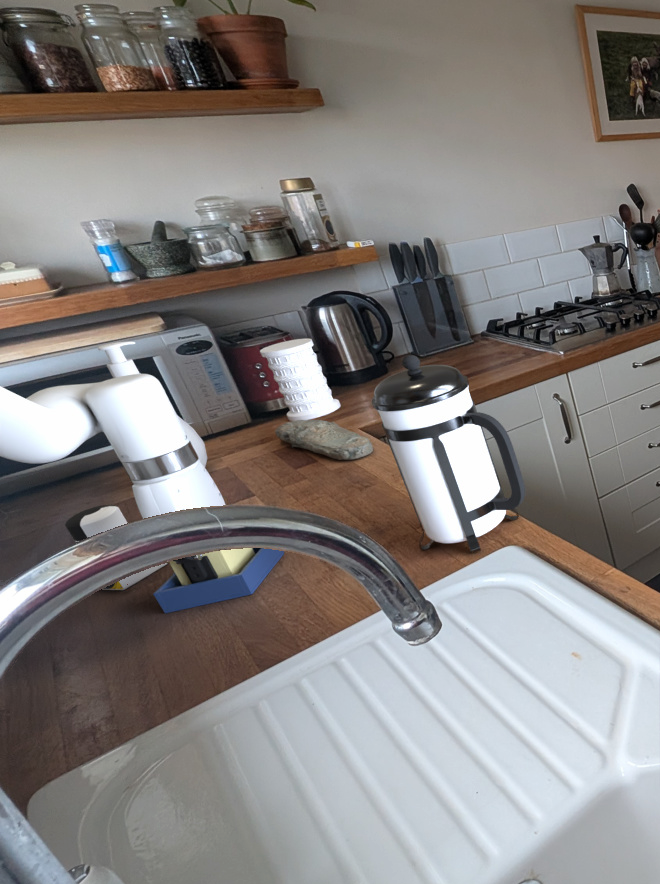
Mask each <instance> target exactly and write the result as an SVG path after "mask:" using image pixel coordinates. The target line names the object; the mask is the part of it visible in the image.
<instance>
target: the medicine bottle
mask: <svg viewBox="0 0 660 884" xmlns="http://www.w3.org/2000/svg"><path fill="white" fill-rule="evenodd" d="M127 523H128V521H127V519H126V518H125V516H124V514H123V513H122V511H121V509H120V507H119V506H117V505H114V504H103V505H97V506H93V507H91V508H90V507H89V508H87V509H84V510H82V511H79V512H78V513H75V514H74V515H72V516H71V517H70V518H69V519H68V520H66V522H65V524H64V526H65V528H66V529H67V531H68V533H69V534H70V535H71V537H72V538H73V540H74V542H75V543H76V542H79V541H81V540H83V539H86V538H88V537H91V536H93V535H96V534H98V533H101V532H105V531H107V530H110V529H113V528H115V527H118V526H121V525H124V524H127ZM166 565H168V563H165V564H161V565H159V566H155V567H151V568H149V569H146V570H144V571H141V572H139V573H136V574H133V575H131V576H129V577H126V578H125V579H122V580H120V581H118V582H116V583H114V584H112V585H110V586H107V587H106V588H104V589H102V590H103V591H125V590H126V589H128V588H130V587H133V585H135V584H137V583H139V582H140V581H142V580H143V579H145V578H147V577H149V576H150V575H152V574H153V573H155V572H156V571H159V570H160V569H161V568H163V567H165V566H166ZM127 584H128V585H127ZM120 587H122V588H120ZM102 590H101V591H102Z"/></svg>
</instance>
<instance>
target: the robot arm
mask: <svg viewBox="0 0 660 884" xmlns="http://www.w3.org/2000/svg"><path fill="white" fill-rule="evenodd" d="M164 390H165V389H164V387H163V385H162V383H161V382H160V380H159V379H158V378H156V377H155V376H154V375H153V374H152V375H151V374H149V373H141V374H132V375H126V376H121V377H117V378H113V377H112V378H108V379H106V380H102V381H99V382H90V383H89V382H88V383H80V384H65V385H57V386H51V387H46V388H43V389H40V390H38V391H36V392H34V393H32V394H31V395H29V396H28V397H26V398H25V397H23V396H21V395H19V394H16V393H15V392H13V391H11V390H8V389H7V388H5V387H3V386H1V385H0V458H4V459H7V460H10V461H15V462H18V463H25V464H31V465H33V464H34V465H35V464H46V463H53V462H56V461H59V460H62V459H63V458H66V457H68V456H69V455H70V454H71V453H73V452H74V451H76V450H77V449H78V448H79V447H80V446H81V445H82V444H83V443H85V442H86V441H87V440H89V439H91V438H93V437H94V436H96V435H97V434H99V433H104V436H106V438H107V440H108V442H109V444H110V445H111V447H112V449H113V452H115V454H116V457H117V458H118V460H119V461H120V463H121V465H122V467H123V468H124V470H125V472H126V474H127V476H128V477H129V479H130V480H131V482H132V484H133V485H132V486H131V489H132V494H133V497H134V500H135V503H136V506H137V508H138V511H139V513H140V516H141V518H142V520H143V519H144V518H148V517H152V516H156V515H161V514H165V513H169V512H175V511H180V510H186V509H193V508H201V507H210V506H223V505H228V506H229V499H228V497H227V496H225V495H222V493H221V492H220V489H219V487H218V486H217V484H216V483H215V481H214V479H213V478H212V476H211V474H210V473H209V471H208V470H207V468H206V466H205V467H204V466H203V465H202V463H201V462H200V459H199V457H198V455H197V453H196V451H195V449H194V447H193V445H192V444H191V442H190V440H189V438H188V436H187V434H186V432H185V430H184V428H183V426H182V424H181V422H180V420H179V418H178V416H179V415H178V414H177V412H176V410H175V408H174V406H173V404H172V402H171V400H170V399H169V397H168V395H167V393H166V390H165V391H164ZM177 415H178V416H177ZM173 561H175V562H176V563H177V564H181V566H182V568H183V569H184V571H185V573H186V575H187V576H188V578H189V580H190V582H191V583H192V584H194V583H198V582H203V581H208V580H212V579H217V578H218V575H217V573H216V571H215V569H214V568H213V566H212V564H211V562H210V560H209V558H208V557H207V556H203V555H202V554H198V555H195V556H191V557H185V558H182V559H178V560H173Z"/></svg>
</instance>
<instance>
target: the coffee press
mask: <svg viewBox="0 0 660 884" xmlns="http://www.w3.org/2000/svg"><path fill="white" fill-rule="evenodd" d="M420 365H421V359H419V358H418V356H416V355H413V354H408V355H405V356H404V357H403V358H402V364H401V366H403V367H404V370H402V371H399V372H396V373H393V374H391V375H389V376H387V377H386V378H384V379H382V380H381V381H380V382H379V383H377V385H376V387H375V388H374V391H373V398H372V399H371V401H370V403H371V405H372V408H373V409H374V410H375V411H377V412H378V414H379V416H380V419H381V422H382V423H381V427H382V430H383V432H384V435H385V437H386V440H387V442H388V445H389V448H390V451H391V453H392V456H393V458H394V461H395V463H396V467H397V468H398V471H399V474H400V477H401V479H402V482H403V484H404V487H405V489H406V492H407V494H408V496H409V500H410V502H411V504H412V508H413V510H414V513H415V515H416V517H417V520H418V523H419V526H420V528H421V531H422V533H421V535H420V538H419V540H418V547H419V549H420V550H422V551H427V550H429V549H430V548H431V547H432V545H433V544H434V543H435V542H436V543H440V544H457V543H462V542H467V544H468V548H469V551H470V553H471V555H473V554H476V553H479V552H481V551H482V549H481V546H480V543H479V541H478V538H479V537H481V536H483V535H485V534H487V533H489V532H490V531H492V530H493V529H495V528H496V527H497V526H498V525H499V524H500V523H501V522H502V521H503V520H504V519H507V520H510V521H516V520H518V519H519V517H520V514H519V512H518V509H516V508H517V507H519V506H520V505H521V504H522V503H523V502H524V500H525V497H526V487H525V481H524V478H523V475H522V471H521V468H520V464H519V461H518V459H517V455H516V451H515V449H514V446H513V443H512V440H511V437H510V436H509V434H508V432H507V430H506V429H505V427H504V426H503V424H501V422H500V421H499V420H497V419H496V418H495V417H494V416H492V415H489V414H487V413H485V412H480V411H479V412H478V410H477V407H476V404H475V401H474V399H472V397H471V394H470V391H469V390H470V389H469V385H470V381H469V379H468V377H467V376H466V375H463V373H462V372H461V371H460V370H459V369H458V368H456V367H453V366H451V365H447V364H428V365H421V366H420ZM483 428H484V429H486V430H487V431H488V432H489V433H490V434H491V436H492V437H493V438H494V440H495V442H496V445H497V448H498V450H499V454H500V457H501V460H502V463H503V467H504V470H505V473H506V476H507V480H508V482H509V486H510V490H511V495H510V497H506V496H505V493H504V490H503V488H502V484H501V480H500V478H499V475H498V472H497V470H496V466H495V462H494V459H493V457H492V453H491V450H490V448H489V445H488V441H487V438H486V435H485V431H484V429H483ZM510 510H511V511H512V512H514V513H515V515H517V516H515V515H513V516H511V515H509V514H507V511H510ZM425 534H426V536H427V537H428V538H429V539H430V541H429V542H428V543H427V544H425V545H423V544H422V542H423V540H424V538H425Z"/></svg>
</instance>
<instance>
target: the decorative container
mask: <svg viewBox="0 0 660 884" xmlns="http://www.w3.org/2000/svg"><path fill="white" fill-rule="evenodd" d="M314 345H315V344H314V342H313V339H312V338H307V337H306V338H296V339H291V340H286V341H281V342H277V343H274V344H271V345H268V346H265V347H262V348H261V349H260V350H259V353H260V356H261V357H262V358H266V360H267V362H268V364H267V366H268V368H269V370H271V372H272V373H273V380H274V381H275V382H276V383H277V384H278V391H279V393H280V394H281V395H282V396H283V398H284V399H283V400H284V401H283V402H284V404H285V405H286V407H287V408H288V409H289V411H288V412H287V413H286V417H287V420H289V422H292V421H297V420H314V419H316V418H321V417H323V416H327V415H329V414H331V413H333V412H335V411H337V410H338V409H340V408H341V406H342V405H341V403H340V400H339V399H337V398H333V396H332V394H333V393H332V389H331V388H330V387H329V386H328V381H327V377H326V376H325V375H324V374H323V368H322V365H321V364H320V363H319V362H318V355H317V353H315V352H314V350H313V348H312V347H314Z"/></svg>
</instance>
